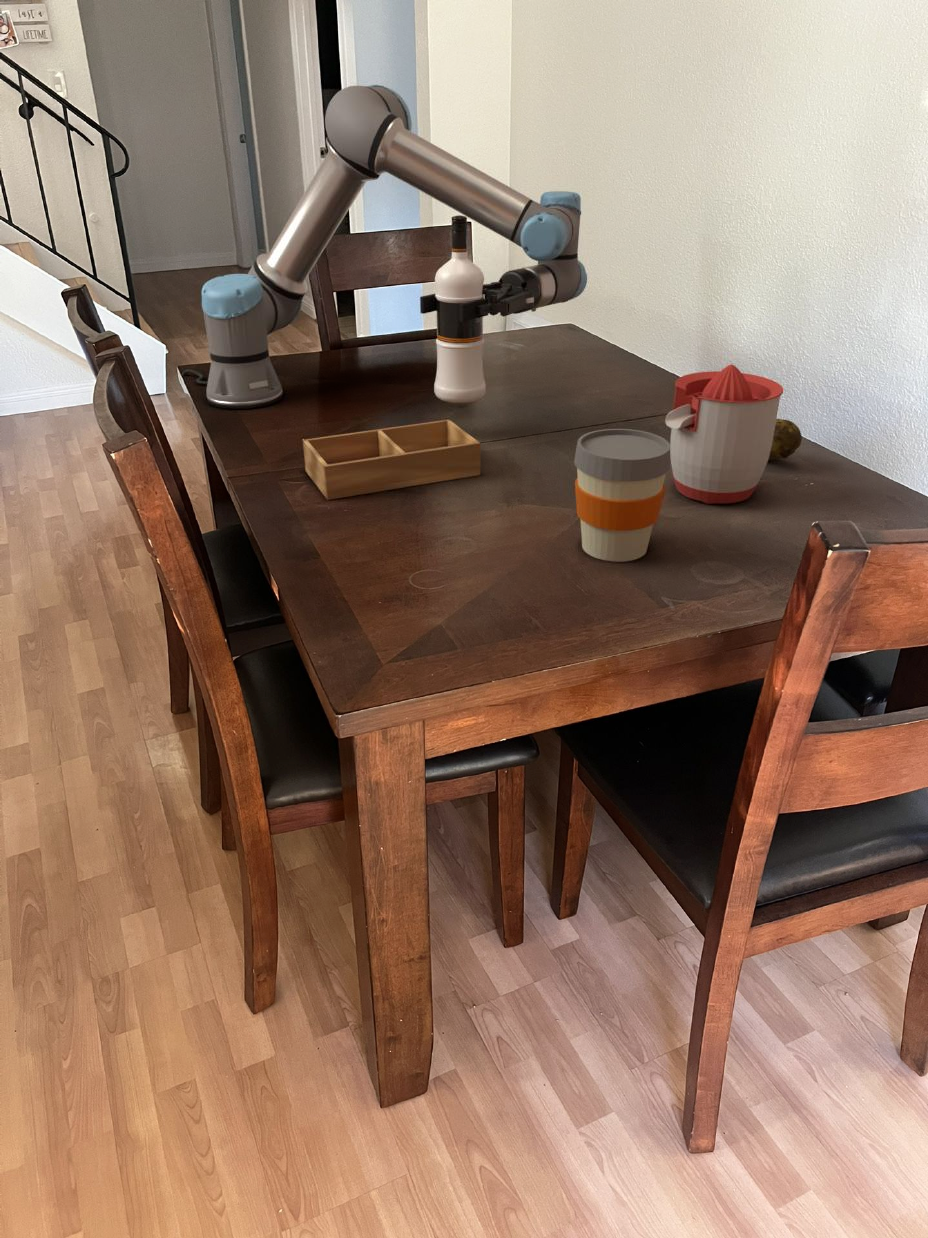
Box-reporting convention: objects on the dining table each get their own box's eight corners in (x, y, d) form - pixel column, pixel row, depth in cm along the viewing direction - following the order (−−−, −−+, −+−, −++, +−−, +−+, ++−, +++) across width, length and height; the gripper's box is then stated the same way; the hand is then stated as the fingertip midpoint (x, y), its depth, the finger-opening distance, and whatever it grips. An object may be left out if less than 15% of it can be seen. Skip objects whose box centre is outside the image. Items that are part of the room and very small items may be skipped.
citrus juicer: (634, 482, 145) (647, 358, 135) (724, 467, 151) (742, 347, 140) (690, 519, 132) (708, 385, 122) (785, 501, 138) (810, 371, 128)
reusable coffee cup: (598, 574, 118) (607, 466, 110) (553, 537, 128) (558, 435, 120) (678, 557, 122) (692, 451, 114) (628, 522, 132) (637, 423, 124)
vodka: (434, 389, 166) (431, 212, 150) (485, 389, 166) (486, 212, 150) (433, 404, 158) (430, 219, 142) (486, 404, 158) (488, 219, 142)
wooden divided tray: (305, 471, 150) (302, 439, 147) (449, 449, 159) (449, 419, 156) (327, 500, 139) (324, 466, 137) (480, 474, 148) (480, 443, 145)
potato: (765, 445, 160) (773, 401, 156) (803, 471, 149) (813, 425, 145) (722, 449, 158) (729, 404, 154) (757, 475, 147) (765, 428, 143)
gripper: (570, 318, 161) (488, 341, 146) (481, 302, 173) (397, 322, 159) (573, 274, 157) (489, 293, 143) (481, 261, 169) (396, 277, 155)
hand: (441, 308), depth 151 cm, fingers closed on vodka, 8 cm apart
